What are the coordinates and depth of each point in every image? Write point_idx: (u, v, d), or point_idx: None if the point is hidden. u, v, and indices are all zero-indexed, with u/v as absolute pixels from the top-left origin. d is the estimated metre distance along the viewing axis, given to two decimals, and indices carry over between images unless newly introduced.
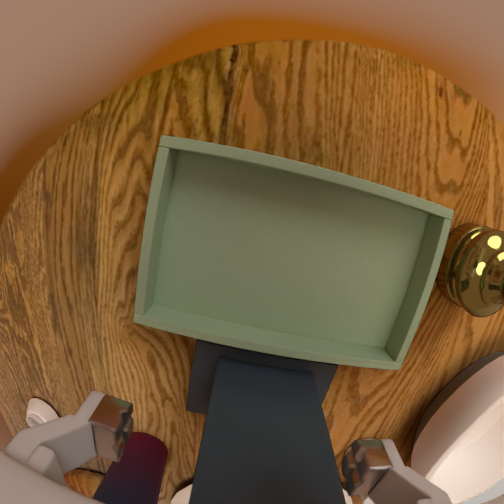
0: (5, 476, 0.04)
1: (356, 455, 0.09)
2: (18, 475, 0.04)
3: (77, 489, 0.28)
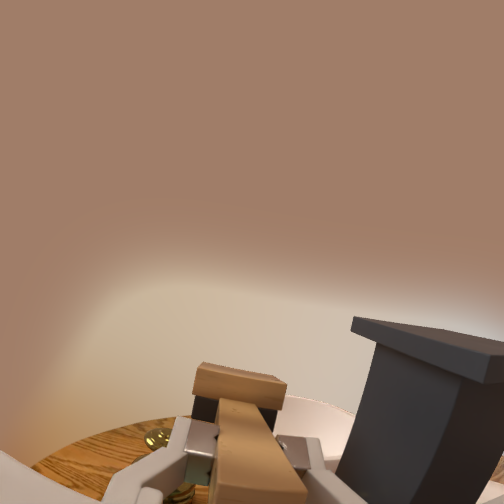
0: (5, 476, 0.04)
1: None
2: (18, 475, 0.04)
3: None
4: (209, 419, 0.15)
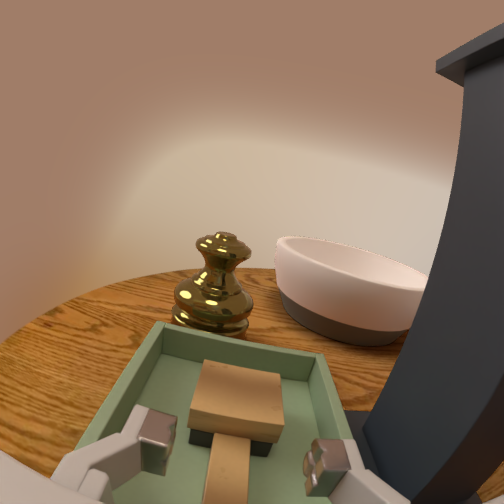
0: (5, 476, 0.04)
1: (314, 454, 0.09)
2: (18, 475, 0.04)
3: None
4: (205, 445, 0.15)
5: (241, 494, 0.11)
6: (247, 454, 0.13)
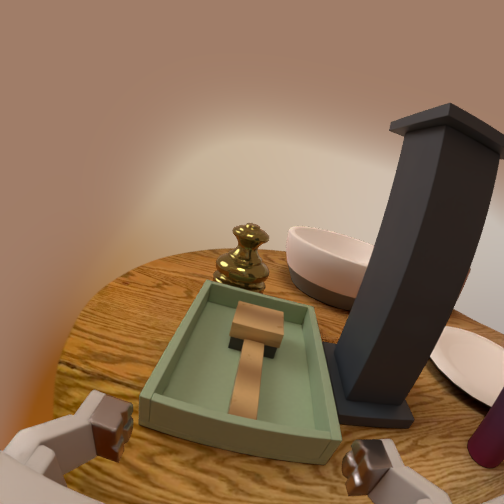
0: (5, 476, 0.04)
1: (356, 455, 0.09)
2: (18, 475, 0.04)
3: None
4: (238, 349, 0.30)
5: (258, 367, 0.25)
6: (262, 350, 0.28)
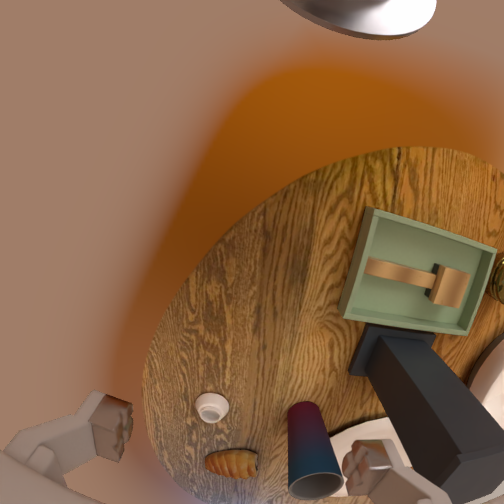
0: (5, 476, 0.04)
1: (356, 455, 0.09)
2: (18, 475, 0.04)
3: (223, 468, 0.43)
4: (432, 270, 0.37)
5: (409, 281, 0.36)
6: (425, 286, 0.36)
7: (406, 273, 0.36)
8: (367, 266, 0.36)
